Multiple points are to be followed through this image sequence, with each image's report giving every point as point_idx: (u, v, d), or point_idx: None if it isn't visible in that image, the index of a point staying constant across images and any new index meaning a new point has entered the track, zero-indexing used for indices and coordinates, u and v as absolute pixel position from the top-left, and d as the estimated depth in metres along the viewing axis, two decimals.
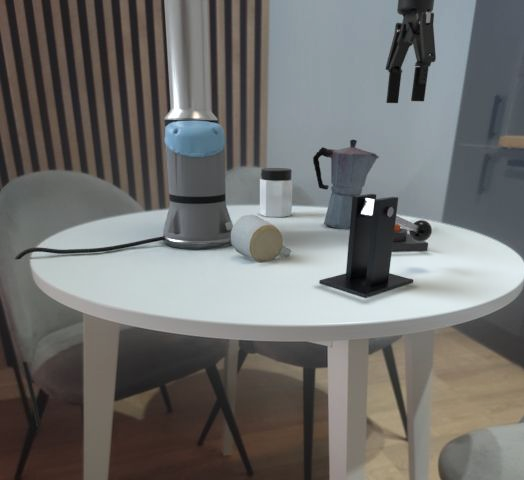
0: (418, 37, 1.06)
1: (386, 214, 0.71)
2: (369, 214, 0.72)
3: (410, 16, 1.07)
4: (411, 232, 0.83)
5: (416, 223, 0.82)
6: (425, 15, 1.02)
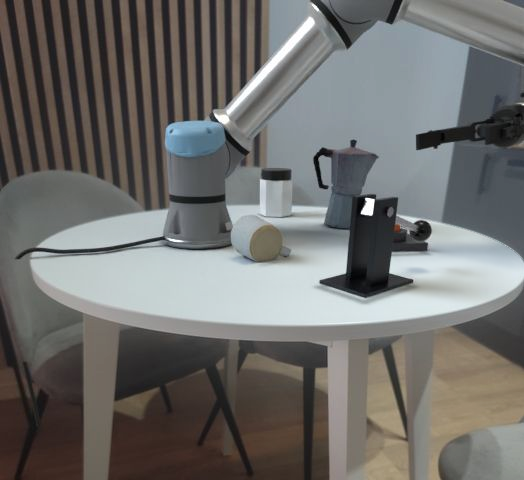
0: None
1: (386, 214, 0.71)
2: (369, 214, 0.72)
3: None
4: (411, 232, 0.83)
5: (416, 223, 0.82)
6: None
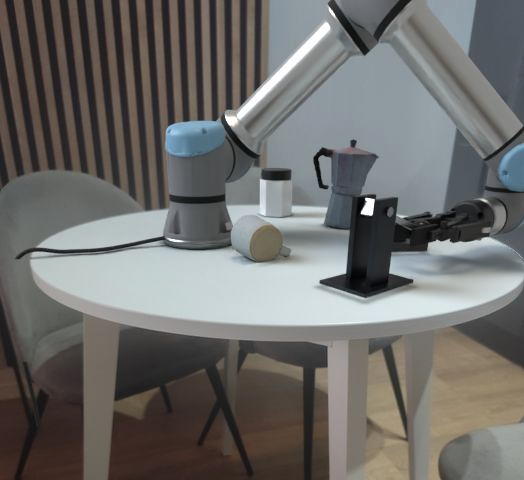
0: None
1: (386, 214, 0.71)
2: (369, 214, 0.72)
3: None
4: None
5: (416, 223, 0.82)
6: (489, 225, 0.85)
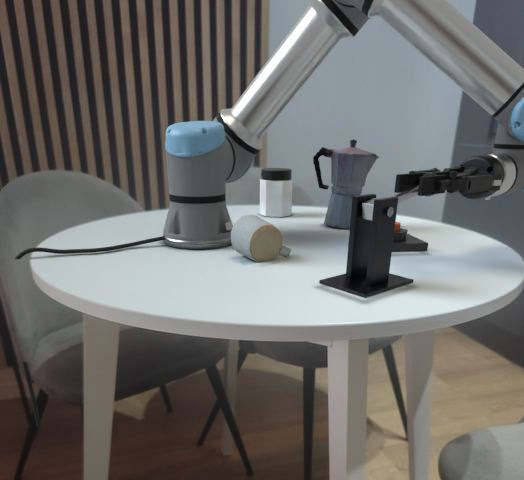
0: None
1: (386, 214, 0.71)
2: (371, 219, 0.73)
3: None
4: None
5: None
6: (500, 178, 0.82)
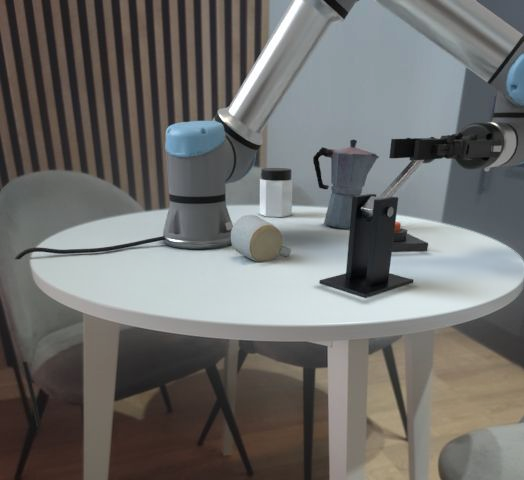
0: None
1: (386, 214, 0.71)
2: None
3: None
4: None
5: None
6: (500, 144, 0.78)
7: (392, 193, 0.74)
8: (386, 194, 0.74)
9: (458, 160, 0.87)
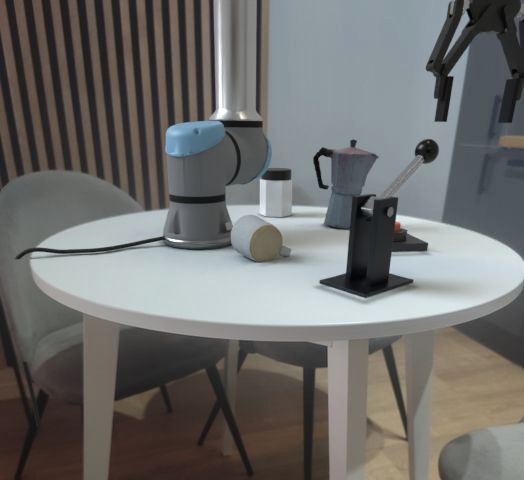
0: (464, 32, 0.77)
1: (386, 214, 0.71)
2: None
3: None
4: None
5: (418, 152, 0.76)
6: (450, 5, 0.75)
7: (392, 193, 0.74)
8: (386, 194, 0.74)
9: None
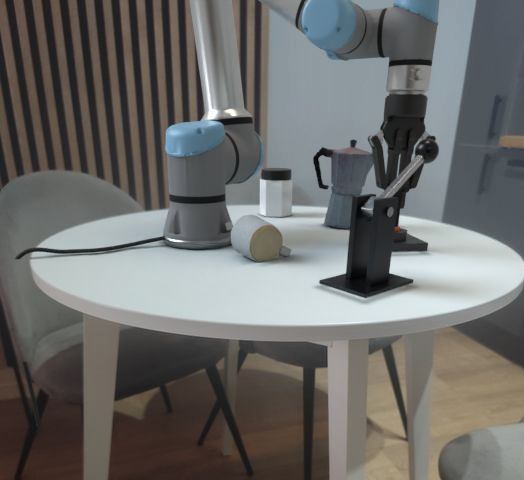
0: (389, 154, 0.95)
1: (386, 214, 0.71)
2: None
3: None
4: None
5: (418, 152, 0.76)
6: (369, 141, 0.93)
7: (392, 193, 0.74)
8: (386, 194, 0.74)
9: (420, 117, 0.90)
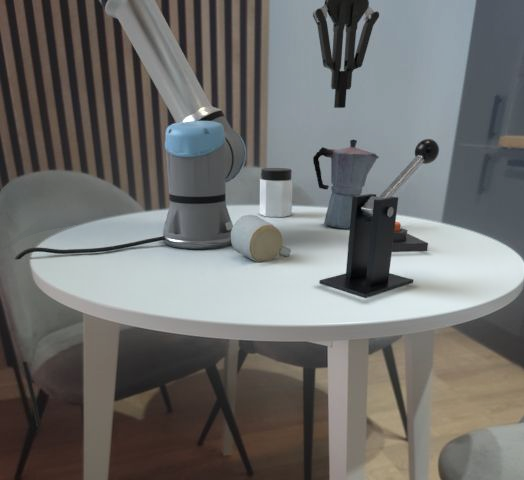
0: (334, 31, 0.97)
1: (386, 214, 0.71)
2: None
3: None
4: None
5: (418, 152, 0.76)
6: (314, 16, 0.95)
7: (392, 193, 0.74)
8: (386, 194, 0.74)
9: None
